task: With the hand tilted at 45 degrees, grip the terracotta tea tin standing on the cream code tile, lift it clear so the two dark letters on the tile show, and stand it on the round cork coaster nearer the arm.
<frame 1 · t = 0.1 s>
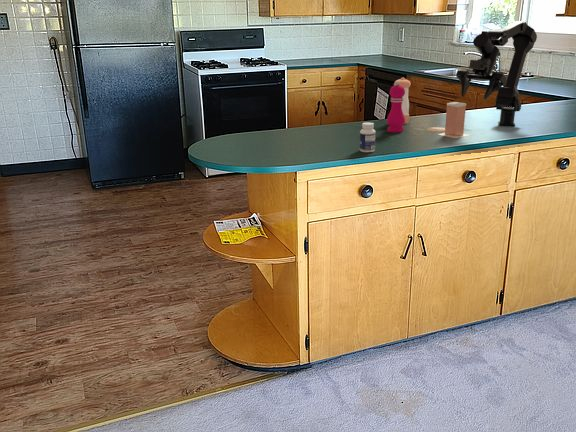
hand: (473, 97, 224), 15 cm above the counter, tool tilted 35°, fingers open, 9 cm apart
pill bottle: (367, 151, 208), on the counter
tea tin: (453, 134, 230), resting on code tile
code tile: (453, 135, 230), on the counter
salt shaker: (400, 122, 257), on the counter
cork coaster: (438, 130, 239), on the counter
pepper mill: (395, 131, 239), on the counter
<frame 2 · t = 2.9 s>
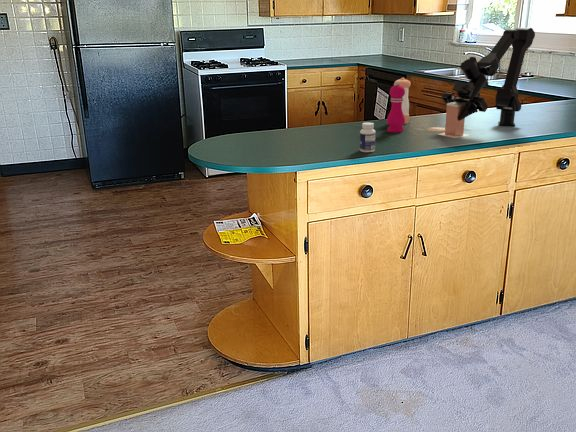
hand: (452, 119, 227), 7 cm above the counter, tool tilted 45°, fingers closed on tea tin, 5 cm apart
tea tin: (453, 134, 230), resting on code tile, touching gripper
everything else where it was.
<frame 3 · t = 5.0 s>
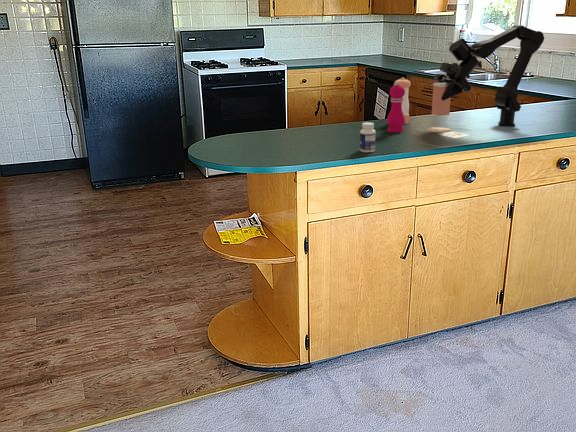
hand: (438, 98, 234), 13 cm above the counter, tool tilted 45°, fingers closed on tea tin, 5 cm apart
tea tin: (440, 114, 237), point 7 cm above the counter, touching gripper
everything else where it was.
when the fingers open (8 cm above the counter, at t = 6.9 s): tea tin stays where it is, resting on cork coaster.
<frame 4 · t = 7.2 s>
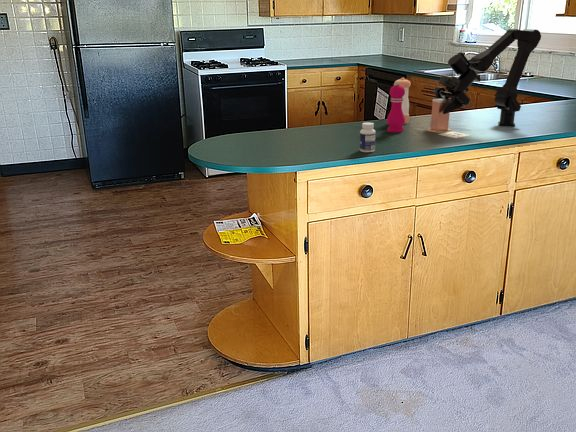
hand: (437, 111, 236), 8 cm above the counter, tool tilted 45°, fingers open, 8 cm apart
tea tin: (439, 129, 239), resting on cork coaster
everything else where it was.
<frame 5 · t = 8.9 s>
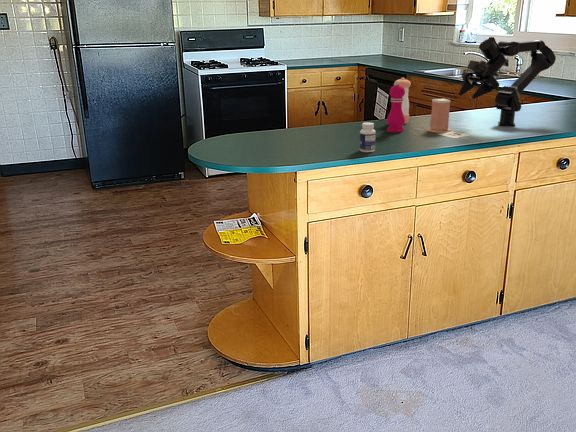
hand: (465, 96, 236), 13 cm above the counter, tool tilted 45°, fingers open, 9 cm apart
nothing on the counter moved.
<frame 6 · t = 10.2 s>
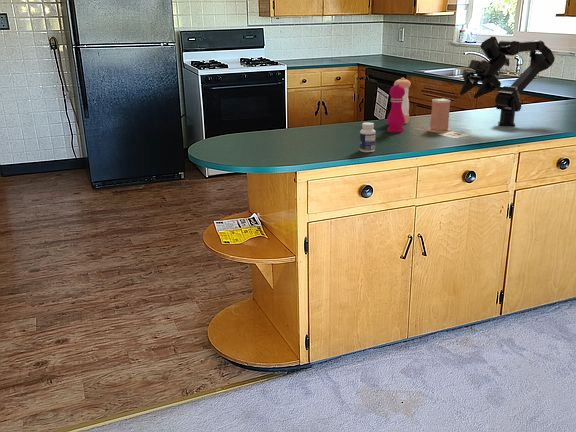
hand: (467, 96, 236), 14 cm above the counter, tool tilted 45°, fingers open, 9 cm apart
nothing on the counter moved.
at the end: tea tin inside the target area on the cork coaster (0.0 cm from its centre), point 0.4 cm above the cork coaster's base; tea tin tilted 0°; the gripper is holding nothing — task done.
